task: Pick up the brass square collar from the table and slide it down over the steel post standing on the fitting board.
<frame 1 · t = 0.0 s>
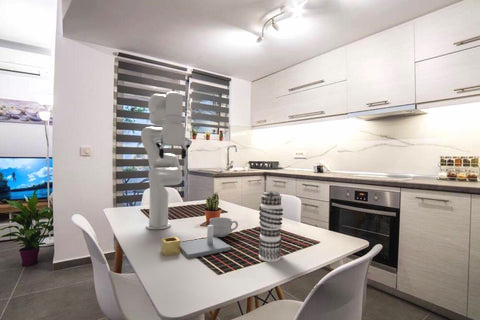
hand: (172, 158, 109), 37 cm above the table, tool pointing down, fingers open, 9 cm apart
fitting board: (203, 248, 100), on the table
brass collar: (170, 252, 95), on the table
teacup: (223, 236, 117), on the table
leaning tower model: (269, 257, 93), on the table
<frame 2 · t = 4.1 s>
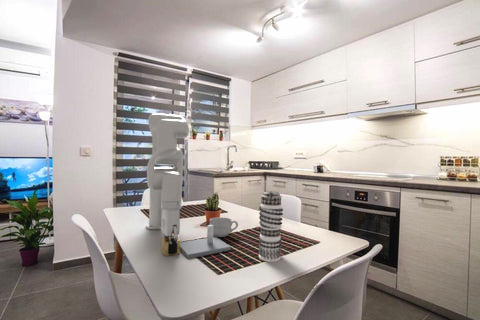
hand: (170, 250, 95), 1 cm above the table, tool pointing down, fingers closed on brass collar, 5 cm apart
brass collar: (170, 252, 95), on the table, touching gripper
everything else where it was.
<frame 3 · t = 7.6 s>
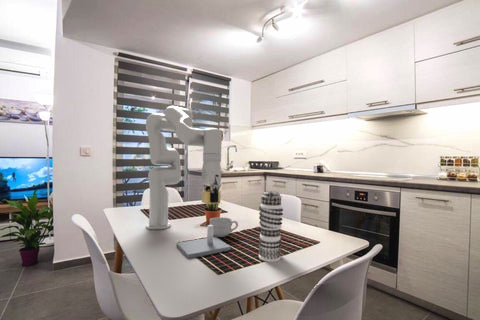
hand: (210, 200, 102), 19 cm above the table, tool pointing down, fingers closed on brass collar, 5 cm apart
brass collar: (210, 202, 102), point 19 cm above the table, touching gripper
everything else where it was.
when the fingers open (4 cm above the table, at t = 11.2 s): brass collar drops 2 cm, resting on fitting board.
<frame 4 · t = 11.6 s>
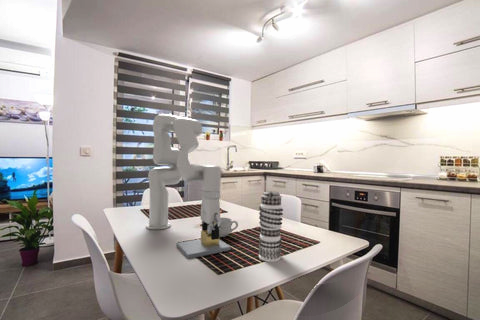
hand: (210, 235, 102), 5 cm above the table, tool pointing down, fingers open, 9 cm apart
brass collar: (209, 243, 102), point 1 cm above the table, touching fitting board
everything else where it was.
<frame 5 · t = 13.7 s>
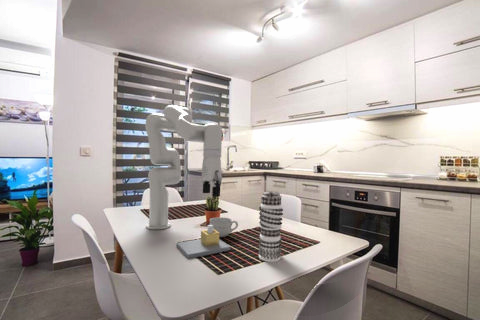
hand: (211, 194, 102), 22 cm above the table, tool pointing down, fingers open, 9 cm apart
nothing on the table moved.
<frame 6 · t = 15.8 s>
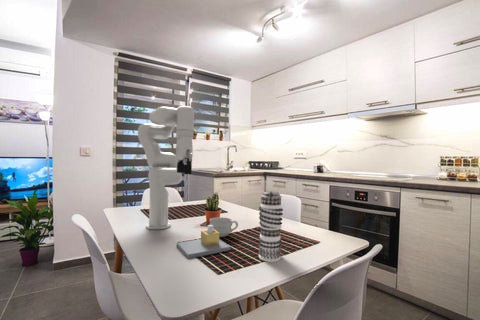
hand: (183, 173, 108), 30 cm above the table, tool pointing down, fingers open, 9 cm apart
nothing on the table moved.
at the end: brass collar 0.1 cm from the target spot on the fitting board, point 1.5 cm above the fitting board's base; brass collar tilted 0°; the gripper is holding nothing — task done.
